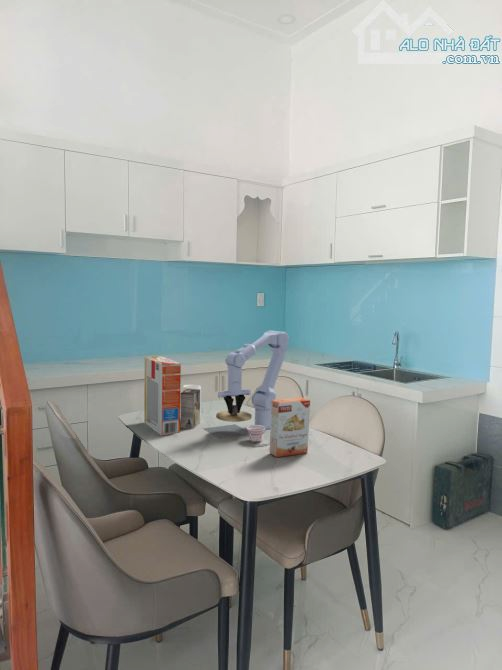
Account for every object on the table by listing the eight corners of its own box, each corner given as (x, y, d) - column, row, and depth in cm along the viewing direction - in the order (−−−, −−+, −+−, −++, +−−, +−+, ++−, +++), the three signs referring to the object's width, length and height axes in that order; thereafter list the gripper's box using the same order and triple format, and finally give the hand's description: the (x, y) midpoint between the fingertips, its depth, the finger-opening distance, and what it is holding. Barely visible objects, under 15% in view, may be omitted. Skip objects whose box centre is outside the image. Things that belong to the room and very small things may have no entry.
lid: (240, 411, 227) (241, 400, 227) (258, 419, 214) (258, 408, 214) (210, 414, 220) (210, 403, 219) (226, 423, 207) (226, 411, 206)
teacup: (249, 436, 216) (250, 422, 216) (275, 441, 211) (275, 426, 210) (235, 443, 206) (235, 428, 205) (262, 449, 200) (262, 433, 199)
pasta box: (179, 433, 218) (180, 363, 215) (161, 435, 214) (162, 364, 211) (161, 420, 237) (161, 356, 234) (144, 422, 233) (144, 357, 230)
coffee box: (186, 423, 234) (187, 388, 232) (200, 424, 232) (200, 389, 231) (179, 428, 225) (180, 392, 223) (193, 429, 223) (194, 393, 222)
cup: (203, 419, 241) (204, 385, 239) (192, 423, 234) (193, 388, 232) (190, 416, 245) (190, 383, 244) (179, 420, 238) (179, 386, 237)
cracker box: (277, 458, 189) (278, 402, 187) (268, 453, 195) (270, 399, 193) (308, 453, 196) (310, 399, 194) (300, 448, 201) (301, 396, 199)
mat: (235, 425, 232) (235, 424, 232) (253, 434, 218) (253, 433, 218) (202, 429, 224) (203, 428, 224) (219, 439, 210) (219, 438, 210)
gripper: (245, 378, 222) (244, 409, 224) (215, 380, 215) (214, 412, 217) (253, 381, 216) (252, 412, 218) (222, 383, 209) (221, 416, 211)
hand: (234, 412), depth 217 cm, fingers closed on lid, 3 cm apart
